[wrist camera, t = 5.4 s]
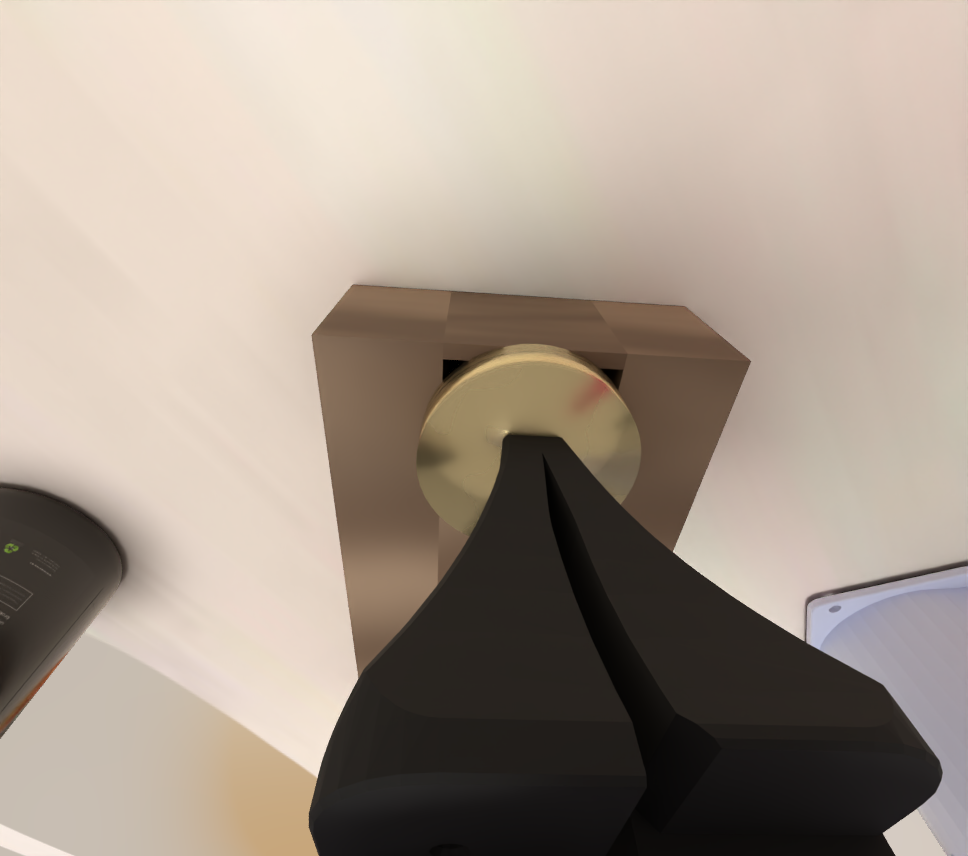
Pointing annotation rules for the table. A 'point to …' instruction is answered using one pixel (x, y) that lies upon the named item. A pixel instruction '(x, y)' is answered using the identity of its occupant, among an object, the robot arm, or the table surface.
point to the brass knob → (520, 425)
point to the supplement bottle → (46, 590)
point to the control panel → (422, 368)
